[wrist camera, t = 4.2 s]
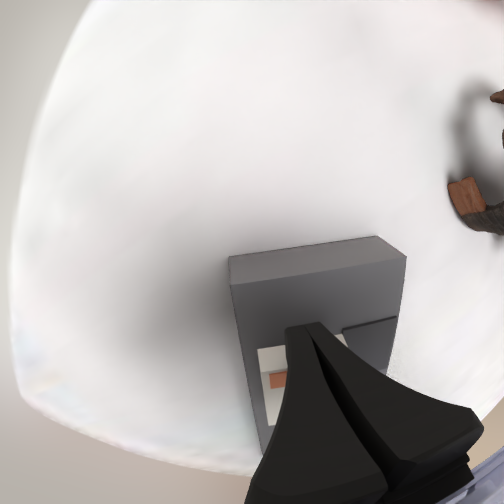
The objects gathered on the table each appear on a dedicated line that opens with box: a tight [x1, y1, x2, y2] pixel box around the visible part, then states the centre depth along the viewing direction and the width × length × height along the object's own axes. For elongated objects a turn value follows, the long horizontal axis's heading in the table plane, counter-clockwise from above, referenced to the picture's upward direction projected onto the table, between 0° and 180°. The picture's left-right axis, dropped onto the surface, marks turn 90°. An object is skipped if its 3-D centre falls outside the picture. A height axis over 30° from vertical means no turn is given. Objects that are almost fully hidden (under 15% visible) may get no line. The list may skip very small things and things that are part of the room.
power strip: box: [229, 236, 407, 455], centre depth 17 cm, size 20×8×3 cm, turn 7°
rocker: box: [257, 334, 348, 426], centre depth 12 cm, size 5×4×2 cm
